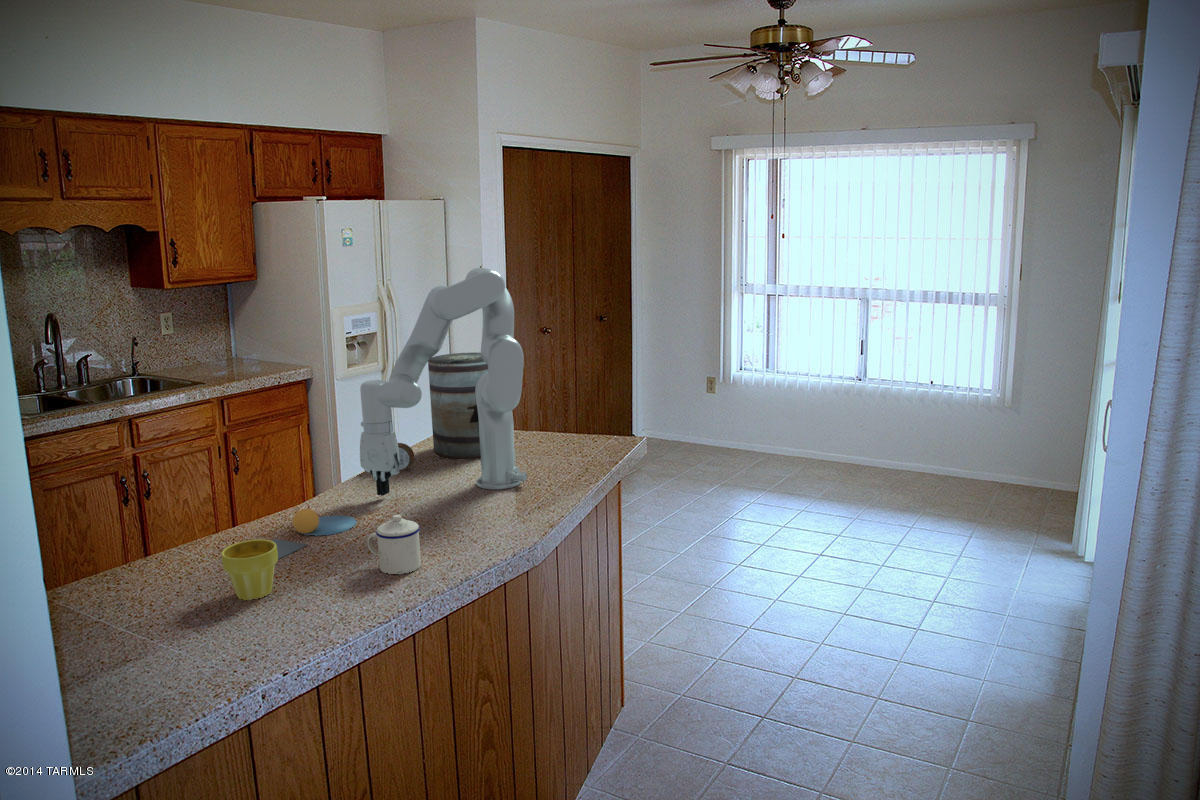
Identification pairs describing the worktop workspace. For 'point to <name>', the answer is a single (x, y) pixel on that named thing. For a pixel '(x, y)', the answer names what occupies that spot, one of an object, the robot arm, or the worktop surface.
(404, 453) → the tin
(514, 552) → the worktop surface
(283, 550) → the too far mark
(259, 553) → the plant pot
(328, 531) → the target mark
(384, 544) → the teacup with lid
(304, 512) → the ball
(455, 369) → the barrel
